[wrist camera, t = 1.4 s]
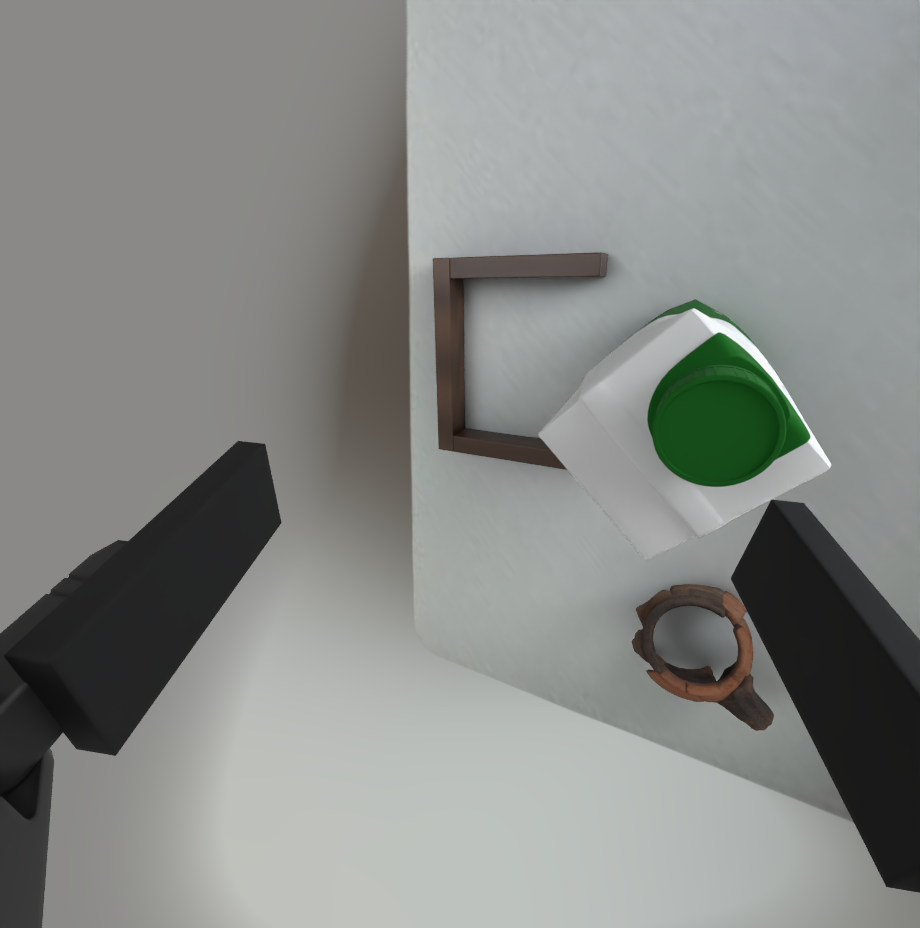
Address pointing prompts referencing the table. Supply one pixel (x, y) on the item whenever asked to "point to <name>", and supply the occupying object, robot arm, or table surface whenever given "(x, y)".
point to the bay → (452, 346)
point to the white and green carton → (683, 430)
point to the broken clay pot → (701, 683)
